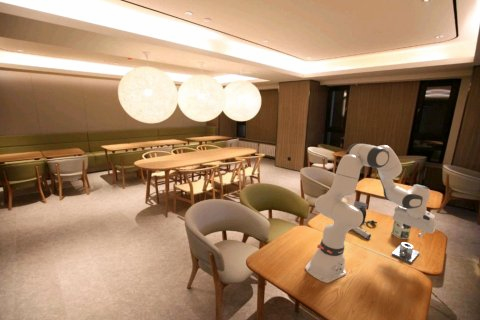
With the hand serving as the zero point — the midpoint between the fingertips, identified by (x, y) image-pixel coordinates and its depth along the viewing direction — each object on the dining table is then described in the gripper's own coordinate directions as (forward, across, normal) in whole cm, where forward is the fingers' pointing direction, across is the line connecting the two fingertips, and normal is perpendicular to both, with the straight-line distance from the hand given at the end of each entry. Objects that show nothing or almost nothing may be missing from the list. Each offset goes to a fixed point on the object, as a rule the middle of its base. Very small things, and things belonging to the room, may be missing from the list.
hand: (410, 232), depth 138 cm
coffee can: (+15, -10, +24) cm, 30 cm away
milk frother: (+15, -34, +20) cm, 42 cm away
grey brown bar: (+16, -34, +1) cm, 37 cm away
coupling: (+14, 0, +1) cm, 14 cm away
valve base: (+15, 0, +1) cm, 15 cm away
